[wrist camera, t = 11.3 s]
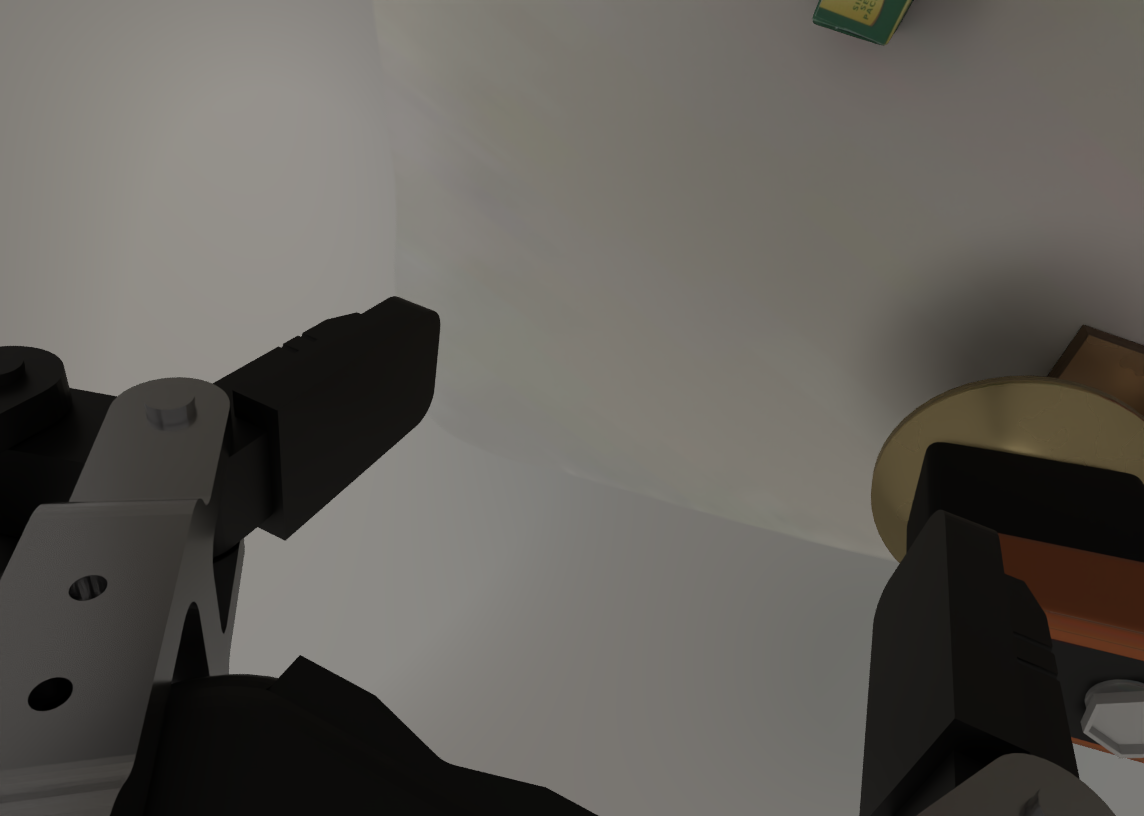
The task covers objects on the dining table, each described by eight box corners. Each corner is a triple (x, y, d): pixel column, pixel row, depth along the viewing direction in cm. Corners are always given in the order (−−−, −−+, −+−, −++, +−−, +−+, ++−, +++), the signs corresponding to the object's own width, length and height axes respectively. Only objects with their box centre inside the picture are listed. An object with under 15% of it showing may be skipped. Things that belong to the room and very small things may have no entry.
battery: (1103, 569, 27) (1188, 810, 18) (904, 527, 29) (901, 725, 21) (1145, 470, 25) (1261, 691, 16) (927, 434, 27) (934, 612, 19)
